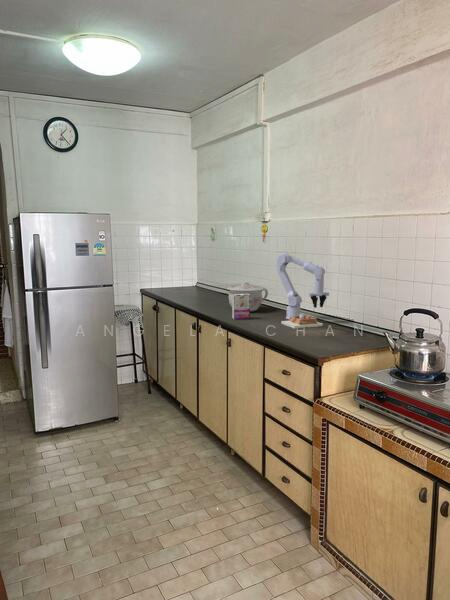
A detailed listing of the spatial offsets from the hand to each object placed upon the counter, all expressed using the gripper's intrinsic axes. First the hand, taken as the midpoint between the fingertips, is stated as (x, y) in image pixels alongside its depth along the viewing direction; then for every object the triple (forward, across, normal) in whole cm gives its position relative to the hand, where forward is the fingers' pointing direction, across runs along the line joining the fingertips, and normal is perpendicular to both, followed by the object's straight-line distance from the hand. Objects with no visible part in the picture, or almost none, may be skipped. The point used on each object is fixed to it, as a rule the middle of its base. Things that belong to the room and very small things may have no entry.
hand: (318, 307), depth 292 cm
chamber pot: (+10, -26, +54) cm, 61 cm away
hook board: (+9, -15, -5) cm, 18 cm away
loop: (+8, -14, -5) cm, 17 cm away
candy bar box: (+10, -42, +27) cm, 51 cm away
